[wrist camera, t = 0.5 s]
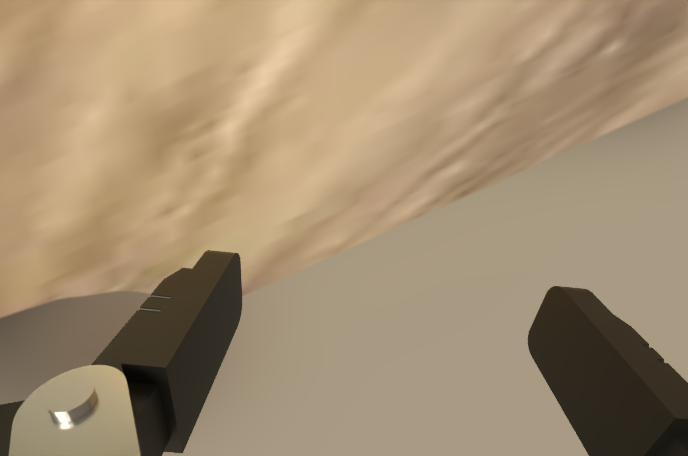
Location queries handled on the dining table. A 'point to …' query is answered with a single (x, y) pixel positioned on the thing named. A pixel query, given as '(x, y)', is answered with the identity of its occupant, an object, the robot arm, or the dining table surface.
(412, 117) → the dining table surface
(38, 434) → the robot arm
